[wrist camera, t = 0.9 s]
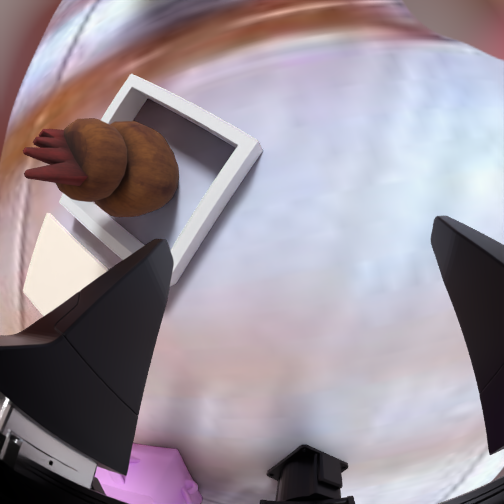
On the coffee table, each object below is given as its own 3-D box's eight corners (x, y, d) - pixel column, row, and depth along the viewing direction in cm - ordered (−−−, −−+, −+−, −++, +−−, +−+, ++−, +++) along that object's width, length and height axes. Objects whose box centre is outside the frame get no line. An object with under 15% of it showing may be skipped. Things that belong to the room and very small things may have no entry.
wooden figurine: (196, 205, 23) (63, 193, 9) (137, 224, 24) (-8, 236, 10) (179, 129, 23) (58, 51, 8) (123, 153, 24) (-11, 114, 9)
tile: (81, 351, 27) (78, 353, 27) (25, 290, 28) (22, 291, 27) (114, 275, 25) (112, 276, 25) (49, 213, 26) (46, 213, 25)
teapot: (228, 512, 28) (211, 566, 18) (142, 499, 30) (116, 541, 20) (189, 424, 26) (151, 490, 16) (91, 413, 29) (45, 456, 19)
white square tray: (176, 283, 24) (161, 291, 21) (79, 202, 25) (59, 202, 22) (263, 150, 22) (258, 140, 19) (146, 85, 23) (131, 73, 20)
